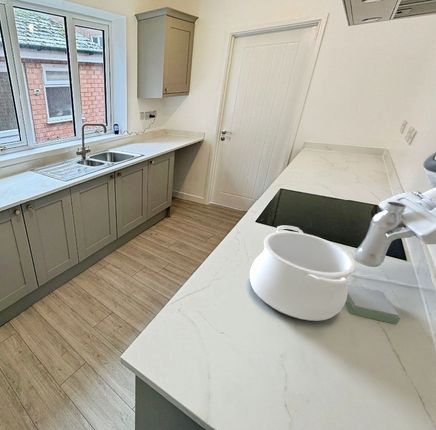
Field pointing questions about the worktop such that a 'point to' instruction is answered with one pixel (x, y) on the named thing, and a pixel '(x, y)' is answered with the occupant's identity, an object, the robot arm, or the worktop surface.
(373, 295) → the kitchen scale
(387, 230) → the plastic bottle
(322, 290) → the pot
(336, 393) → the worktop surface
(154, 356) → the worktop surface
